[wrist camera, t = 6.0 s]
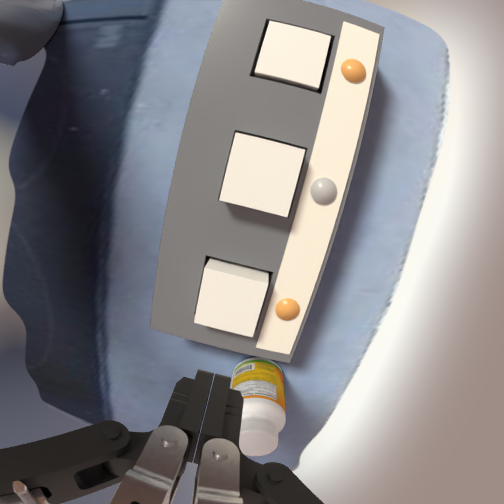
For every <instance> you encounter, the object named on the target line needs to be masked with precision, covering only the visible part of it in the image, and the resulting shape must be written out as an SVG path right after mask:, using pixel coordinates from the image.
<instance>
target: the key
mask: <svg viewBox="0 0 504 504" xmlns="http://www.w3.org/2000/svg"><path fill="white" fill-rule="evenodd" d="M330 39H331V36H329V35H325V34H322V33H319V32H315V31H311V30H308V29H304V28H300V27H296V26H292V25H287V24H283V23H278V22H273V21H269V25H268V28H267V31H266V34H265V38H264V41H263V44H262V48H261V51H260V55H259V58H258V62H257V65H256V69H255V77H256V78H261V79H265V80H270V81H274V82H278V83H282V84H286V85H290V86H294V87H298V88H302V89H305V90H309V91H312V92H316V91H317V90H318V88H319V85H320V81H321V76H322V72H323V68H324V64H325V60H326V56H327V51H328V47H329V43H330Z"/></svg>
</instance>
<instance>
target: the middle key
mask: <svg viewBox="0 0 504 504" xmlns="http://www.w3.org/2000/svg"><path fill="white" fill-rule="evenodd" d="M304 153H305V150H304V149H300V148H297V147H293V146H289V145H286V144H282V143H278V142H274V141H270V140H266V139H262V138H258V137H254V136H249V135H245V134H241V133H235V137H234V141H233V145H232V149H231V153H230V157H229V161H228V165H227V169H226V173H225V177H224V182H223V186H222V190H221V194H220V199H219V200H220V201H224V202H228V203H232V204H237V205H241V206H245V207H249V208H253V209H257V210H261V211H264V212H268V213H272V214H276V215H280V216H284V217H287V216H288V213H289V209H290V206H291V202H292V198H293V195H294V191H295V187H296V183H297V180H298V176H299V172H300V168H301V165H302V161H303V157H304Z"/></svg>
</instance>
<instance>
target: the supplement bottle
mask: <svg viewBox="0 0 504 504" xmlns="http://www.w3.org/2000/svg"><path fill="white" fill-rule="evenodd" d="M230 389H234V390H238V391H240V392H241V394H242V396H243V399H244V403H243V412H242V421H241V429H240V438H239V447H240V450H241V452H242V453H243V454H244V455H247V456H263V455H267V454H269V453H271V452H273V451H274V450H275V449H276V448H277V446H278V433H279V432H280V431H281V430H282V429H283V427H284V425H285V422H286V412H285V393H284V377H283V372H282V370H281V368H280V367H279V365H278V364H277V363H275V362H274V361H272V360H270V359H266V358H262V357H253V358H248V359H246V360H243V361H242V362H240V363H239V364H238V365H237V366H236V367H235V369H234V372H233V376H232V382H231V388H230Z"/></svg>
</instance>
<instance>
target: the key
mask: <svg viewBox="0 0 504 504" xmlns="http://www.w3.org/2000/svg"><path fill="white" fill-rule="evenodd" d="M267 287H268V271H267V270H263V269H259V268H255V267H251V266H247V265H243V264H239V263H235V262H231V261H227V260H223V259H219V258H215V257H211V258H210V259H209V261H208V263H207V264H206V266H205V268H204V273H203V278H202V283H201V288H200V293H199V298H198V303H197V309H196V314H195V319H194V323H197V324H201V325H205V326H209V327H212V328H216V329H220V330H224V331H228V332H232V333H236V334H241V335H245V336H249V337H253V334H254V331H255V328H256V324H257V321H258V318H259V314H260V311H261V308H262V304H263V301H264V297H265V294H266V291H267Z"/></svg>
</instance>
